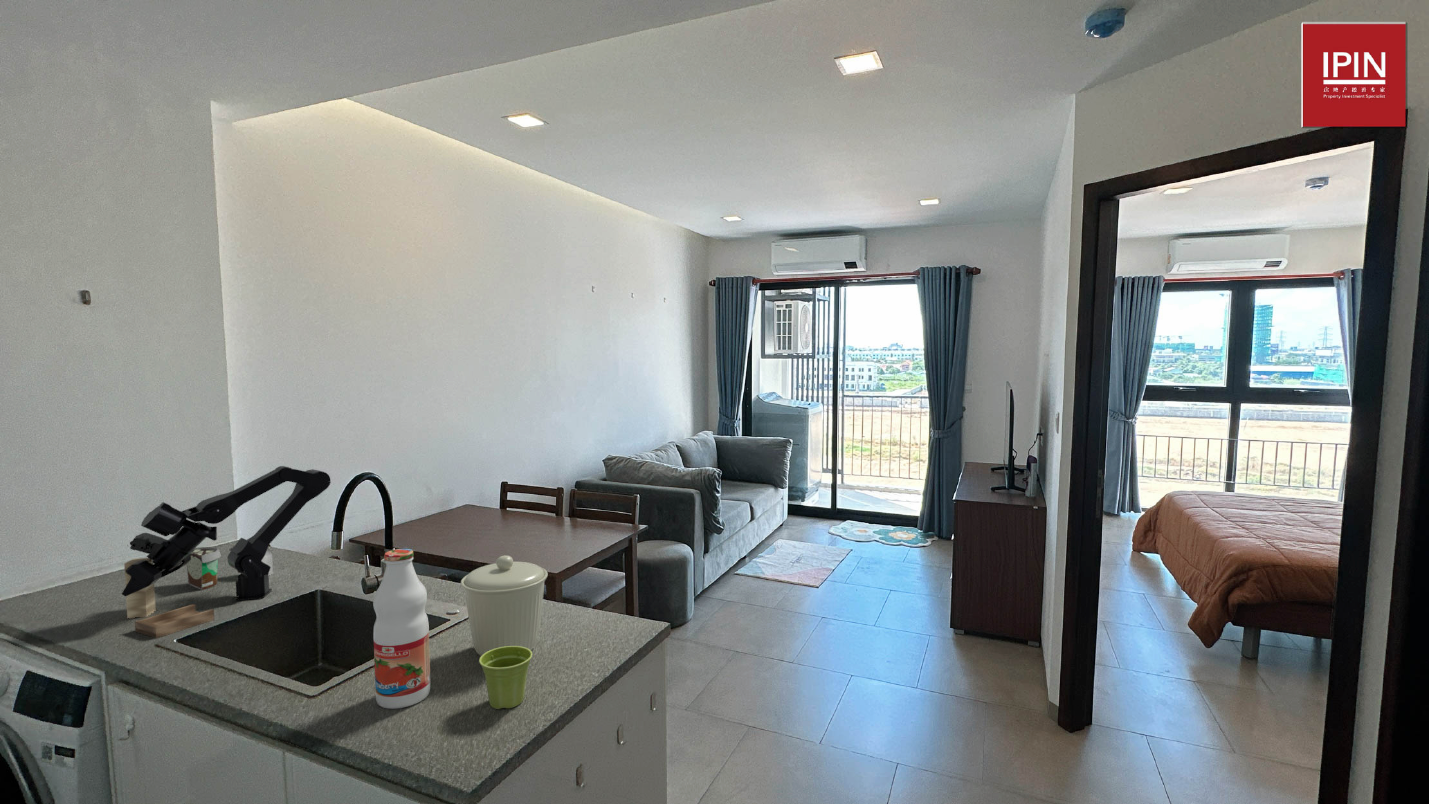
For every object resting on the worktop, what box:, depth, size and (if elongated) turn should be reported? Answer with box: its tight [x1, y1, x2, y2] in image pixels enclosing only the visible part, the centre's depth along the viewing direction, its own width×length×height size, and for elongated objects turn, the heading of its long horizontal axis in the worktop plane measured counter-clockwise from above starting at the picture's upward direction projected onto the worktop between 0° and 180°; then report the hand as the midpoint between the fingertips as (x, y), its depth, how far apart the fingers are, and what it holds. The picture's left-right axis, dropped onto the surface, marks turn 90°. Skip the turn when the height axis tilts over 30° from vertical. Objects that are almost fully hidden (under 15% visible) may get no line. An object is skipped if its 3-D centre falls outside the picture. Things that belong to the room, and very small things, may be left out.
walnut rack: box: [134, 604, 215, 639], centre depth 158 cm, size 12×9×2 cm
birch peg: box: [123, 557, 156, 619], centre depth 164 cm, size 4×4×14 cm
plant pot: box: [478, 646, 533, 710], centre depth 121 cm, size 9×9×9 cm
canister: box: [460, 555, 548, 657], centre depth 143 cm, size 18×18×21 cm
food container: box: [186, 546, 222, 591], centre depth 187 cm, size 12×6×10 cm, turn 58°
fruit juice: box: [372, 548, 431, 710], centre depth 123 cm, size 9×9×28 cm
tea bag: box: [262, 548, 274, 576], centre depth 195 cm, size 4×7×10 cm, turn 72°
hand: (133, 589), depth 164 cm, fingers open, 8 cm apart
